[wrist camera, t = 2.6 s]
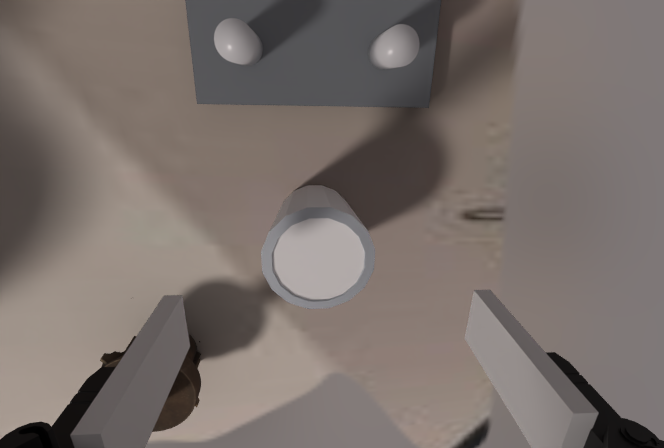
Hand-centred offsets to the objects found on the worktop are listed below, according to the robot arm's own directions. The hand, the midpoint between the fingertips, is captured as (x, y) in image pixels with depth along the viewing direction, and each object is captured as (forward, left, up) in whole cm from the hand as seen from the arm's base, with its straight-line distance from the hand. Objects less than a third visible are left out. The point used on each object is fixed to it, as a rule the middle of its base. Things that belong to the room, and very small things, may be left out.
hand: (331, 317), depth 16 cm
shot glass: (0, 0, -13) cm, 13 cm away
